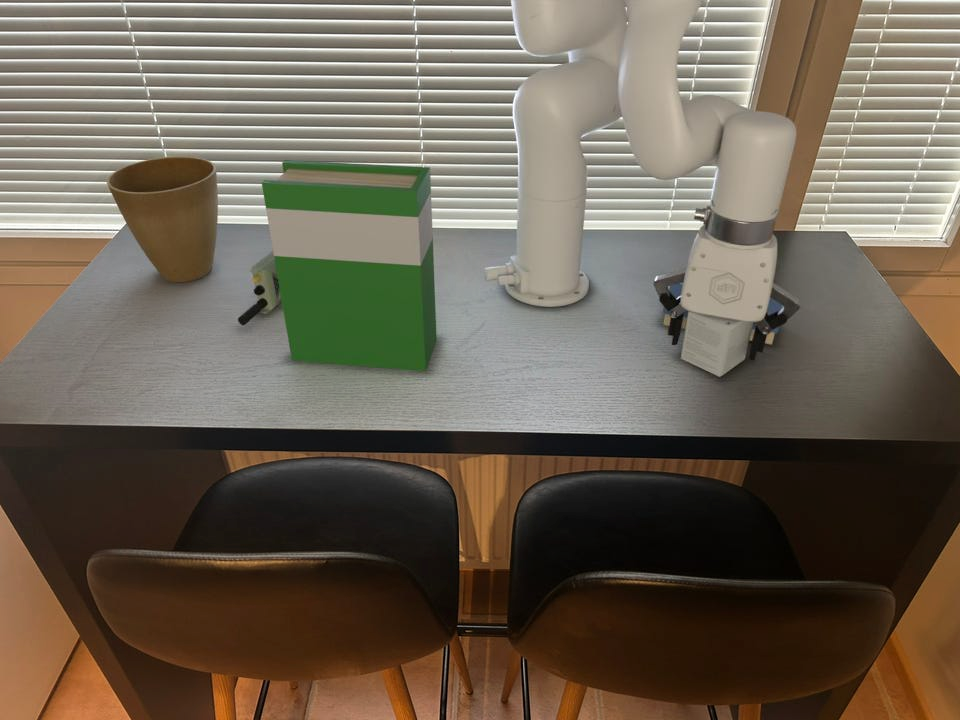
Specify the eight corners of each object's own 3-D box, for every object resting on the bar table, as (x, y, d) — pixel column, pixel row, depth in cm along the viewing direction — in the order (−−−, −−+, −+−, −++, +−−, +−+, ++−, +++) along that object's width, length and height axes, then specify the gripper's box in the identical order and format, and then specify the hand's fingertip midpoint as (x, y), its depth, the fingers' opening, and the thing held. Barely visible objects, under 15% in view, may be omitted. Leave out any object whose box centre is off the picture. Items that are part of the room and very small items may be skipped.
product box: (746, 360, 98) (757, 311, 94) (719, 379, 95) (730, 329, 91) (705, 341, 102) (715, 293, 98) (678, 358, 98) (687, 310, 94)
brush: (660, 325, 105) (664, 302, 103) (667, 305, 110) (671, 281, 108) (774, 346, 101) (780, 321, 99) (776, 323, 105) (782, 300, 103)
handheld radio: (339, 253, 123) (254, 331, 104) (321, 251, 124) (233, 328, 105) (333, 215, 119) (244, 288, 100) (315, 213, 120) (222, 285, 101)
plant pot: (248, 251, 124) (230, 156, 115) (214, 297, 112) (191, 194, 102) (160, 248, 125) (135, 153, 116) (117, 292, 113) (85, 190, 103)
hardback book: (291, 360, 98) (261, 183, 84) (310, 330, 104) (284, 160, 90) (425, 371, 96) (416, 191, 82) (436, 339, 102) (430, 167, 88)
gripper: (659, 226, 87) (641, 349, 97) (819, 249, 82) (783, 377, 92) (669, 201, 93) (650, 320, 103) (819, 222, 88) (785, 345, 98)
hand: (713, 347), depth 97 cm, fingers open, 9 cm apart
